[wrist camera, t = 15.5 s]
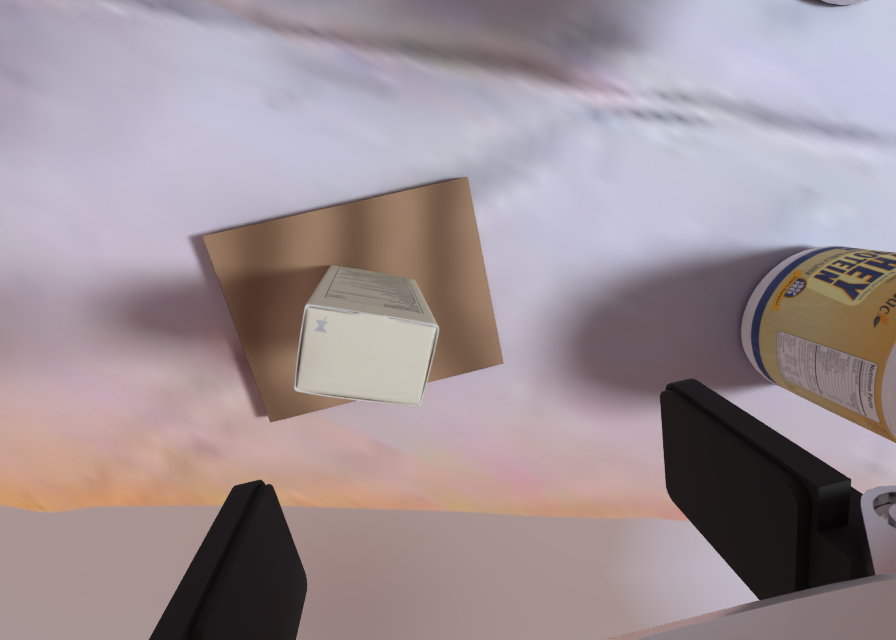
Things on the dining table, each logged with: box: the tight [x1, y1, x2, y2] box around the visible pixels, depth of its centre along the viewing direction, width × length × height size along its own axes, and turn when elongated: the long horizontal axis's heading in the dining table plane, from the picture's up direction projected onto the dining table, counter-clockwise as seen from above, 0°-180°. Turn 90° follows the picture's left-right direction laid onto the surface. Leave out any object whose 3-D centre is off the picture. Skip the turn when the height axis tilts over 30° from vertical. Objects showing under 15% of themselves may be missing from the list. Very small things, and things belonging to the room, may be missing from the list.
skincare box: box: [294, 265, 439, 406], centre depth 27 cm, size 6×4×12 cm
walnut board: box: [203, 177, 503, 422], centre depth 33 cm, size 18×14×1 cm
